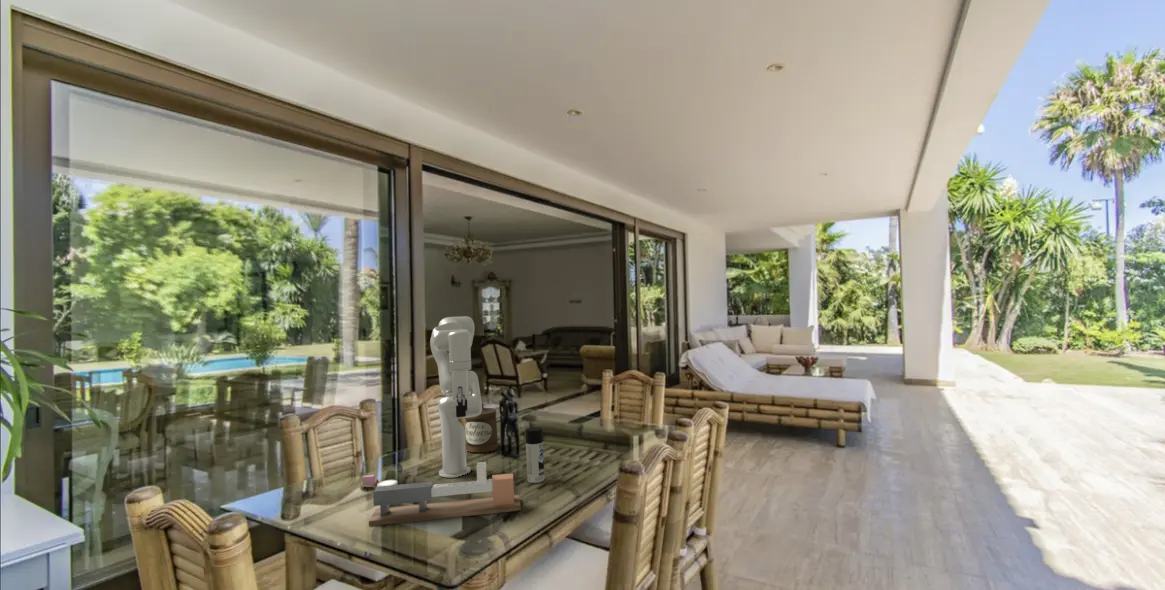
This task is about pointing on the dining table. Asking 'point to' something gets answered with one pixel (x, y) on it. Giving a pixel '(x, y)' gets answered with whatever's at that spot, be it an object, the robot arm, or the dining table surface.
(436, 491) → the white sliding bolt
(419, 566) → the dining table surface
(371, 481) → the perfume bottle
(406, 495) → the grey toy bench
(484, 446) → the wooden container
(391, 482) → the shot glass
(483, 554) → the dining table surface
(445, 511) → the base board
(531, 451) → the spray can
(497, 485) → the socket
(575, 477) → the dining table surface
